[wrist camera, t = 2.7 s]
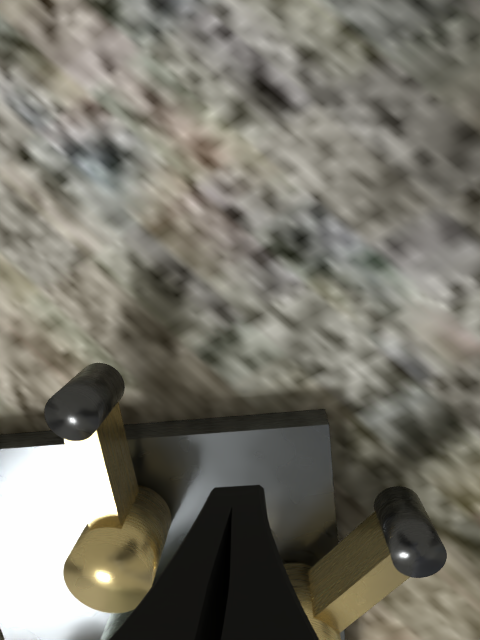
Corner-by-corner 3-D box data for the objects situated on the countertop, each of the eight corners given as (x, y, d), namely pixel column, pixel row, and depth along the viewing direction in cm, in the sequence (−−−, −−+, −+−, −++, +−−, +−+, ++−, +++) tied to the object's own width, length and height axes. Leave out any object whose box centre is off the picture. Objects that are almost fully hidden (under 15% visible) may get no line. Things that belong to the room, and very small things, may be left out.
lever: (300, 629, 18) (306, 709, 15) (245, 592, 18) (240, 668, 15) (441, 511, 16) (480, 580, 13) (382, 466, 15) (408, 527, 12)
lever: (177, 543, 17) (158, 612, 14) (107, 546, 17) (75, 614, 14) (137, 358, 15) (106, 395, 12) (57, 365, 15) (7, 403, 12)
